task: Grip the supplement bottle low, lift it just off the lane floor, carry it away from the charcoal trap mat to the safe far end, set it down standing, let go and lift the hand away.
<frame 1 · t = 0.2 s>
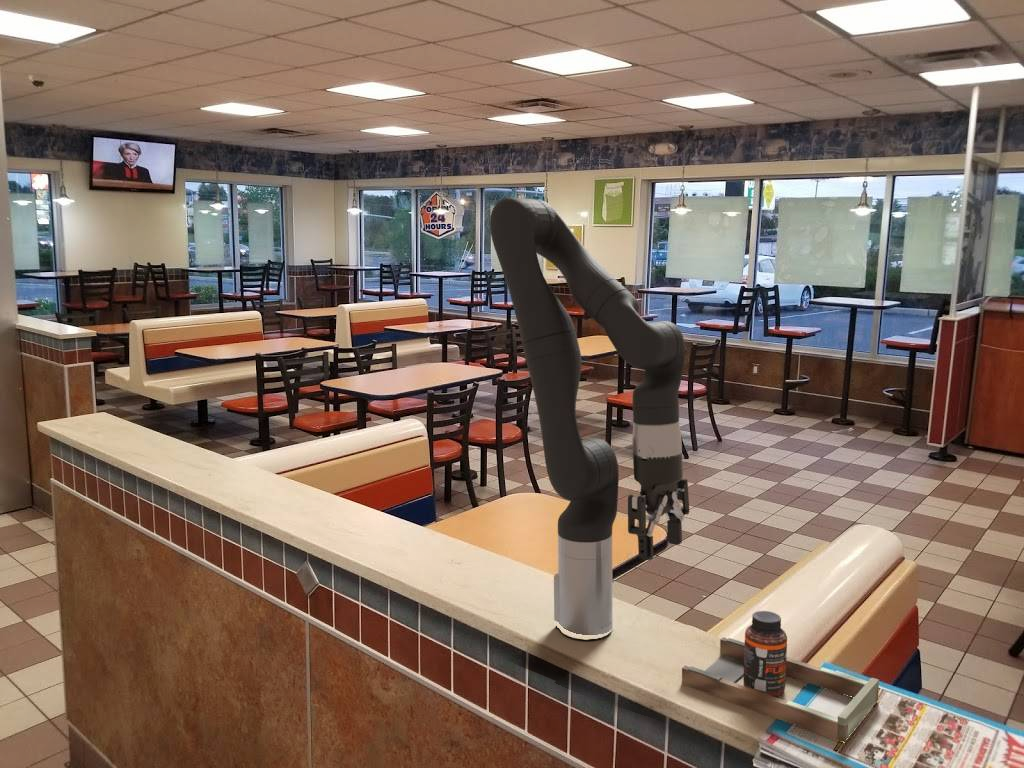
hand: (660, 551, 128), 17 cm above the table, tool pointing down, fingers open, 8 cm apart
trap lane: (777, 692, 119), on the table
supplement bottle: (764, 689, 120), resting in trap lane
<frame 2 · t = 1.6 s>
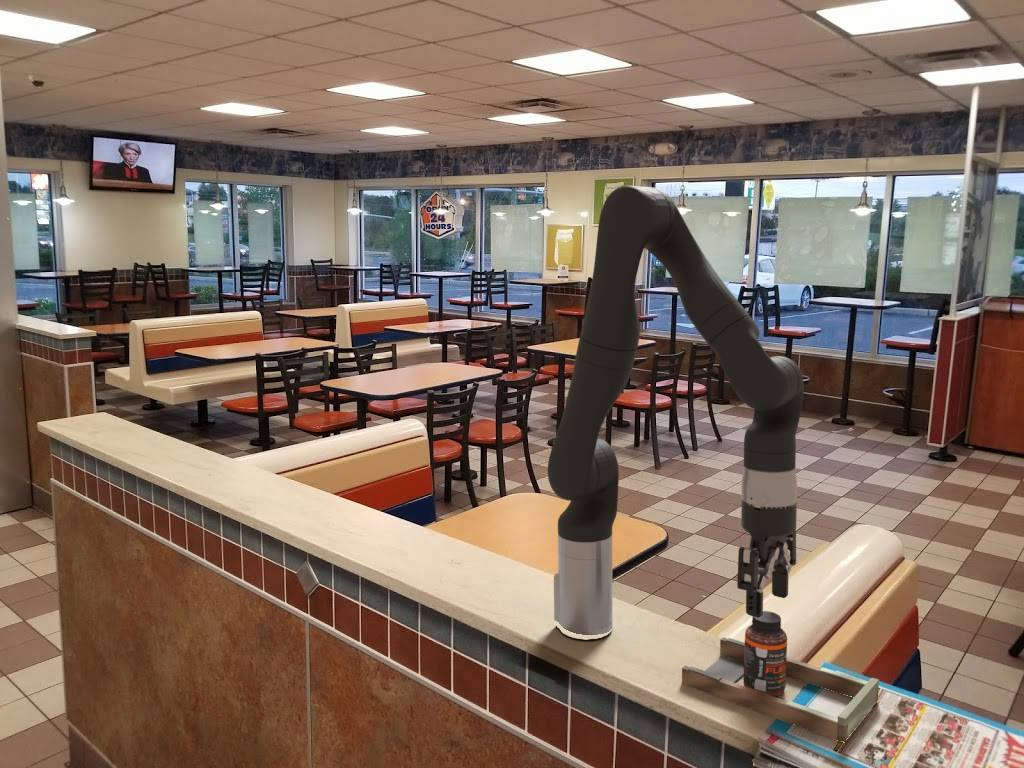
hand: (767, 605, 118), 13 cm above the table, tool pointing down, fingers open, 8 cm apart
nothing on the table moved.
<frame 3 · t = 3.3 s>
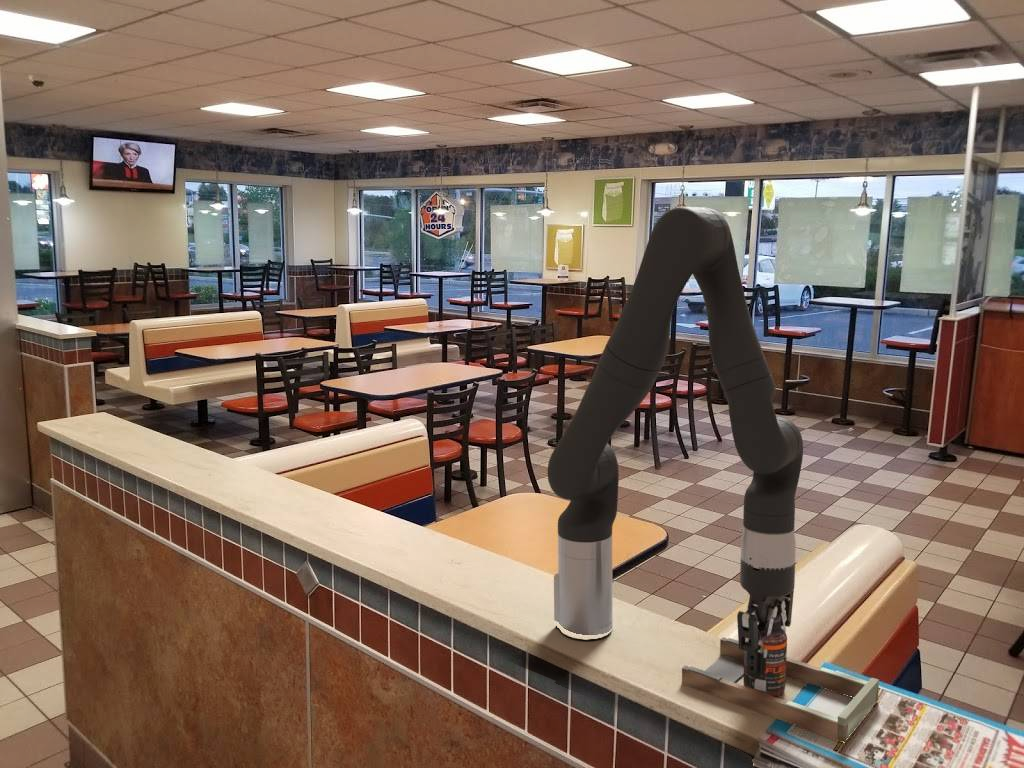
hand: (764, 665, 119), 4 cm above the table, tool pointing down, fingers closed on supplement bottle, 6 cm apart
supplement bottle: (764, 689, 120), resting in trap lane, touching gripper
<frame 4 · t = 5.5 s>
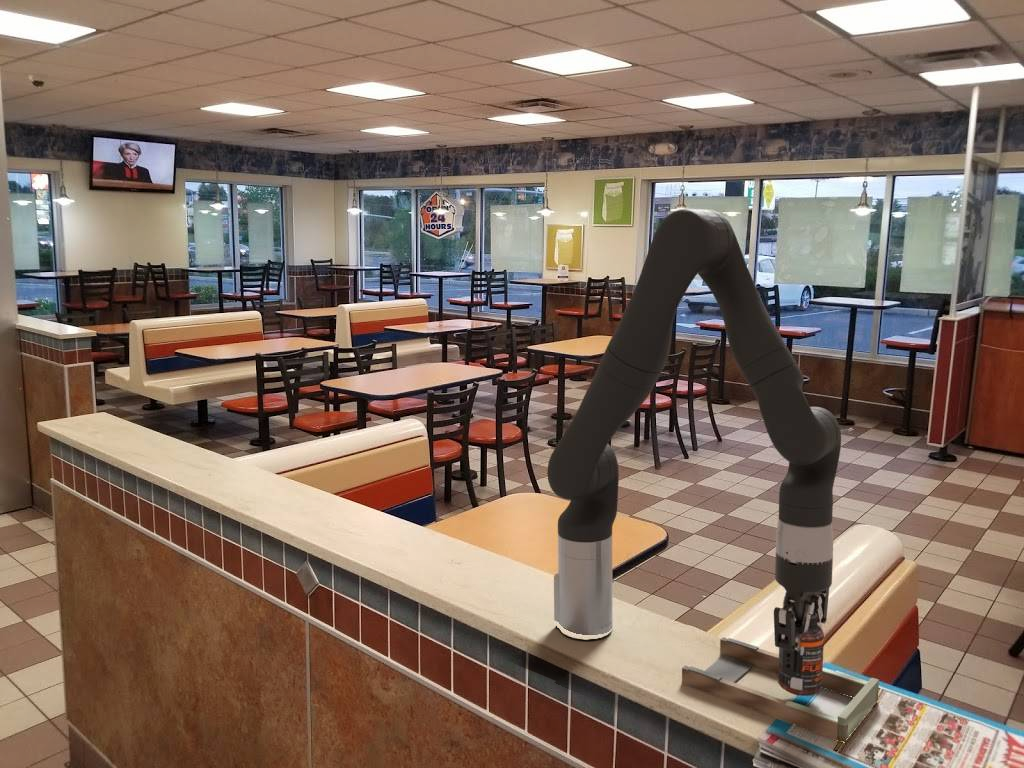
hand: (800, 663, 116), 6 cm above the table, tool pointing down, fingers closed on supplement bottle, 6 cm apart
supplement bottle: (799, 688, 116), point 2 cm above the table, touching gripper
when the fingers open (4 cm above the table, at t = 7.7 s): supplement bottle stays where it is, resting in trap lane.
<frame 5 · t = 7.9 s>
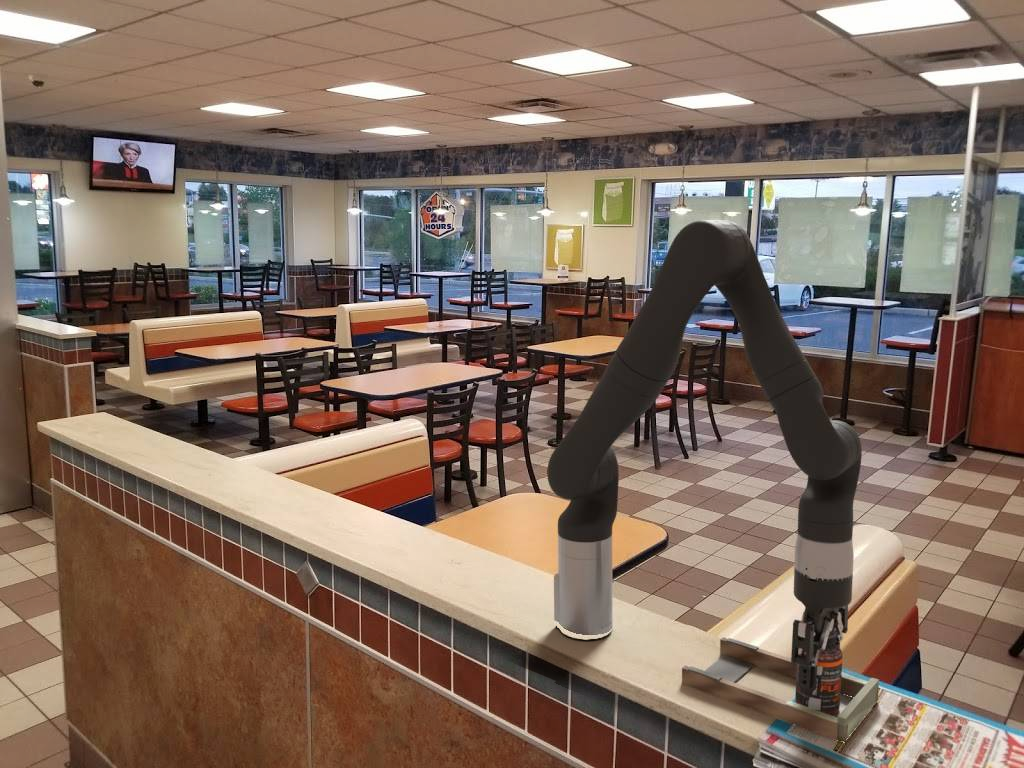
hand: (819, 676, 114), 5 cm above the table, tool pointing down, fingers open, 8 cm apart
supplement bottle: (817, 708, 115), resting in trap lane
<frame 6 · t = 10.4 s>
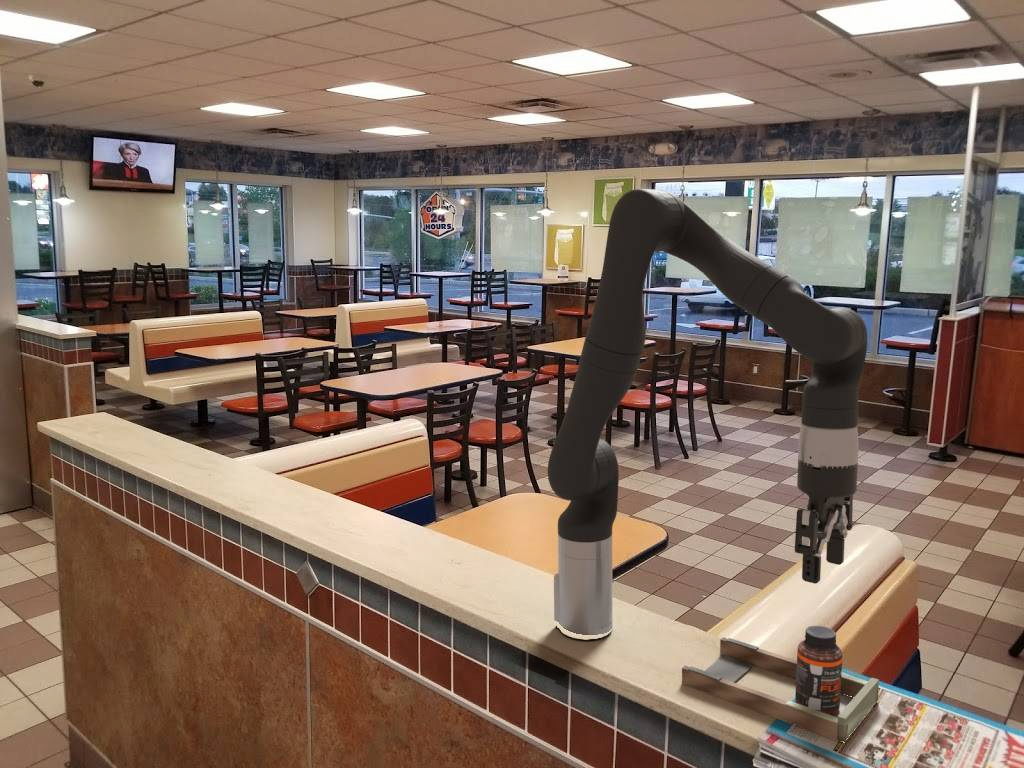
hand: (823, 572, 112), 20 cm above the table, tool pointing down, fingers open, 8 cm apart
nothing on the table moved.
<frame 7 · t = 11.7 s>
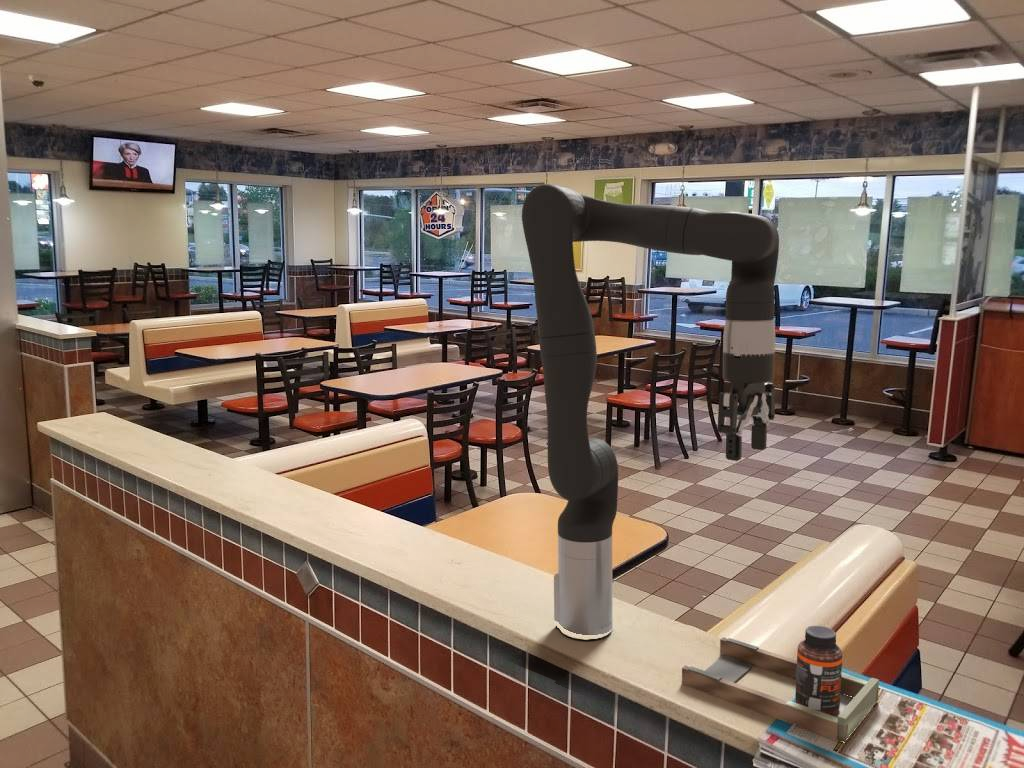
hand: (746, 454, 125), 33 cm above the table, tool pointing down, fingers open, 8 cm apart
nothing on the table moved.
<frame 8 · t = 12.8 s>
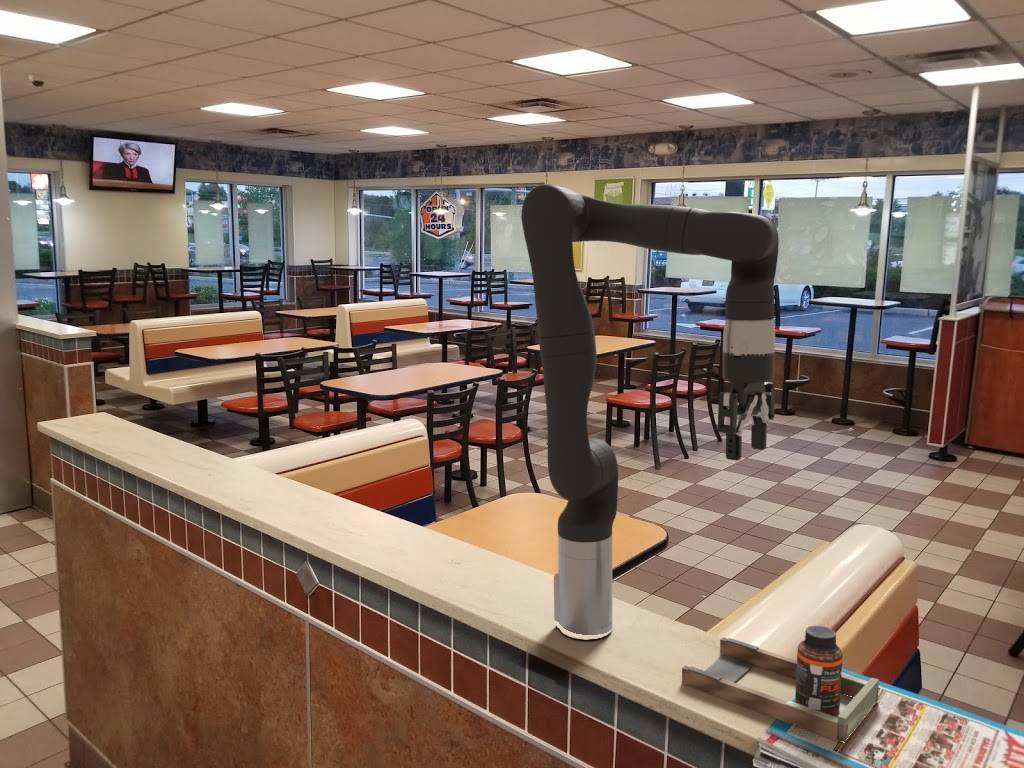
hand: (746, 454, 125), 33 cm above the table, tool pointing down, fingers open, 8 cm apart
nothing on the table moved.
at the end: supplement bottle inside the target area (0.9 cm from its centre), resting in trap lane; supplement bottle tilted 0°; the gripper is holding nothing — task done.
